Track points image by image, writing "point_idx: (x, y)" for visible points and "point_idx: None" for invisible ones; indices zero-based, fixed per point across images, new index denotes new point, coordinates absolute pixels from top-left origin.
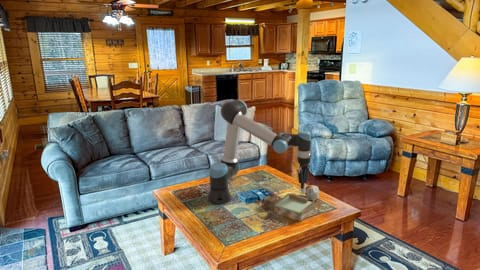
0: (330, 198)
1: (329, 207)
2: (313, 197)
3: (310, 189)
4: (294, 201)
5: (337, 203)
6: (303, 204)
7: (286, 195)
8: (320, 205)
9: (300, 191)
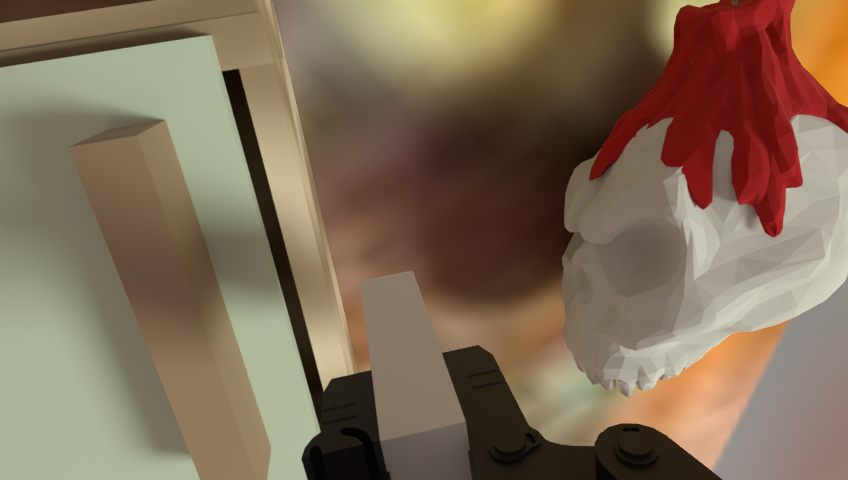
0: (767, 332)
1: None
2: (568, 307)
3: (669, 269)
4: (95, 304)
5: (686, 443)
6: (147, 460)
7: (138, 20)
8: (529, 366)
9: (362, 291)
